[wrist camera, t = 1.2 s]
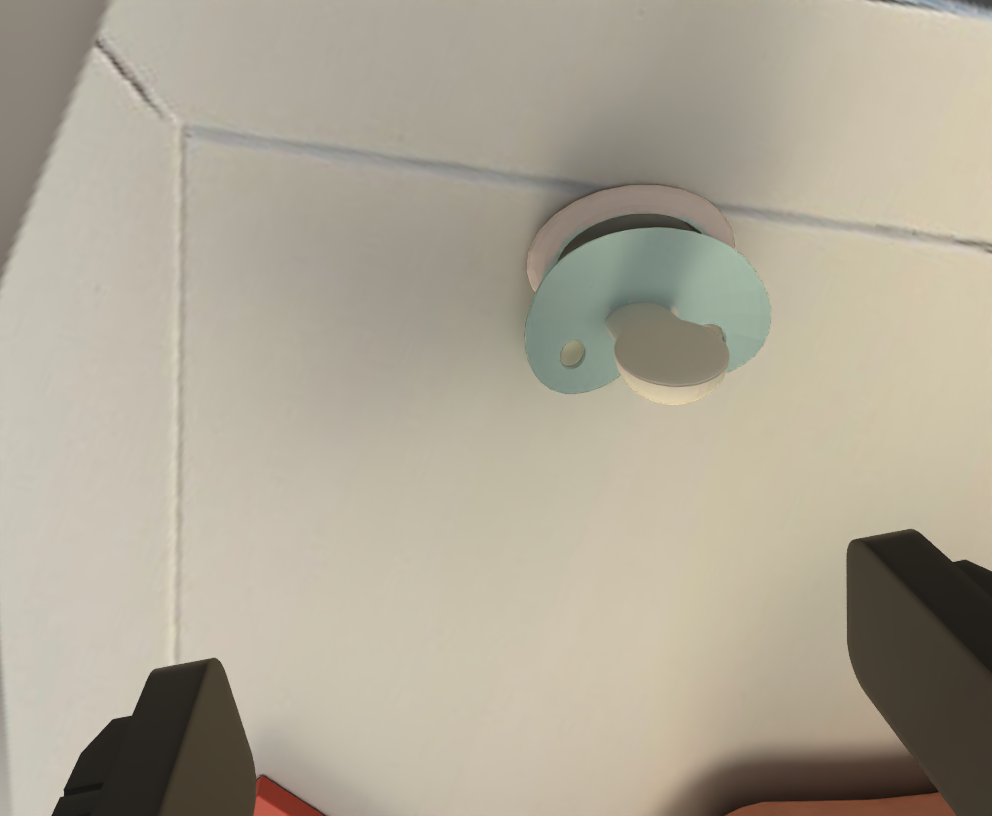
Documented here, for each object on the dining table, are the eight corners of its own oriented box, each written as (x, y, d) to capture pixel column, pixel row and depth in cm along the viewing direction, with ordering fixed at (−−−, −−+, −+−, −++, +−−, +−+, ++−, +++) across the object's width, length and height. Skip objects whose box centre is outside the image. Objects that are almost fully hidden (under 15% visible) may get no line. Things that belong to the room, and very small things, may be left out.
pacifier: (503, 196, 27) (522, 385, 29) (531, 223, 21) (551, 459, 23) (741, 170, 27) (743, 358, 29) (835, 188, 21) (828, 423, 23)
